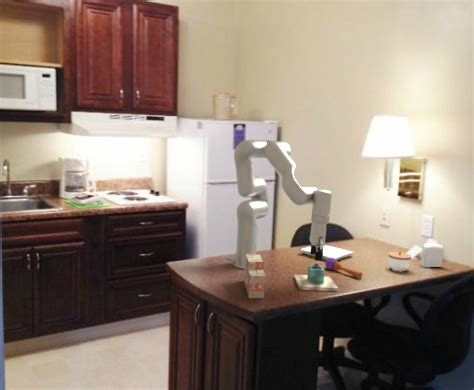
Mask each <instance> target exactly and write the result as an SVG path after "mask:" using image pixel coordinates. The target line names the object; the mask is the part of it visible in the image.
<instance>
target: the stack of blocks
mask: <svg viewBox="0 0 474 390" xmlns="http://www.w3.org/2000/svg"><path fill="white" fill-rule="evenodd" d="M266 275H267V274H266V272H265V271H264V261H263V259H262V256H261V254H257V253H256V254H246V255H245V269H244V276H243V277H244V278H243V280H244V281H243V282H244V287H245V290H246V293H247V296H248V298H249V299H265V288H266V281H267V279H266V278H267V276H266Z"/></svg>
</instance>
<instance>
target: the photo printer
mask: <svg viewBox="0 0 474 390" xmlns="http://www.w3.org/2000/svg"><path fill="white" fill-rule="evenodd" d="M443 257H444V246H443V245H441V244H439V243H435V242H433V243H432V242H430V243H425V244H423V246H422V251H421V261H420V267H421V266H423V267H422V268H430V267H441V268H442V265H443Z"/></svg>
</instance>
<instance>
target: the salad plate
mask: <svg viewBox="0 0 474 390" xmlns="http://www.w3.org/2000/svg"><path fill="white" fill-rule="evenodd" d="M300 251H301V252H302V253H303V254H305V255H308V256H310V257H312V258H315V254H310V251H311V245H309V246H307V247H302V248H300ZM354 253H355V252H354V251H351V250H348V249H344V248H340V247H335V246H332V245H326V244H325V245H324V246H323V258H322V260H324V261H326V260H327V259H328V258H335V259H336V260H337V261H338V260H342V259H344V258H347V257H350V256H352V255H353V254H354Z"/></svg>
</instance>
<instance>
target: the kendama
mask: <svg viewBox="0 0 474 390" xmlns="http://www.w3.org/2000/svg"><path fill="white" fill-rule="evenodd" d="M324 264H325V267H326V268H327V270H330V271H341V270H342V271H343V272H345V273H347V274H349V275H350V276H353V277H354V278H356V279H357V280H360V279H362V278H363V273H362V272H360V271H357V270H353V269H350V268H346V267H344V266H342V264H341V263H340V262H339V261H338V260H336V259H335V258H328V259H327V260H325V263H324Z"/></svg>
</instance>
